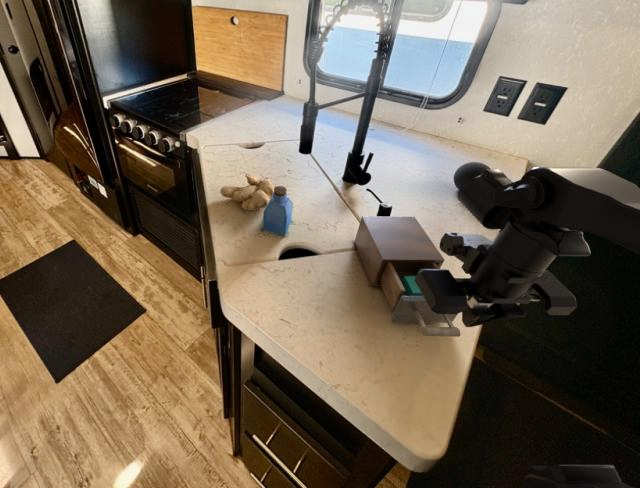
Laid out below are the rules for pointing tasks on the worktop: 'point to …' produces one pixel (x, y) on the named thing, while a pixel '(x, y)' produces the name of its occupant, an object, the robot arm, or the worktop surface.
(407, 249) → the drawer cabinet
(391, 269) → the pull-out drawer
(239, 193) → the ginger root
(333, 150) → the worktop surface
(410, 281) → the teal block
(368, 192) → the worktop surface
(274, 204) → the perfume bottle
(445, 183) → the worktop surface
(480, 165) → the decorative ball
